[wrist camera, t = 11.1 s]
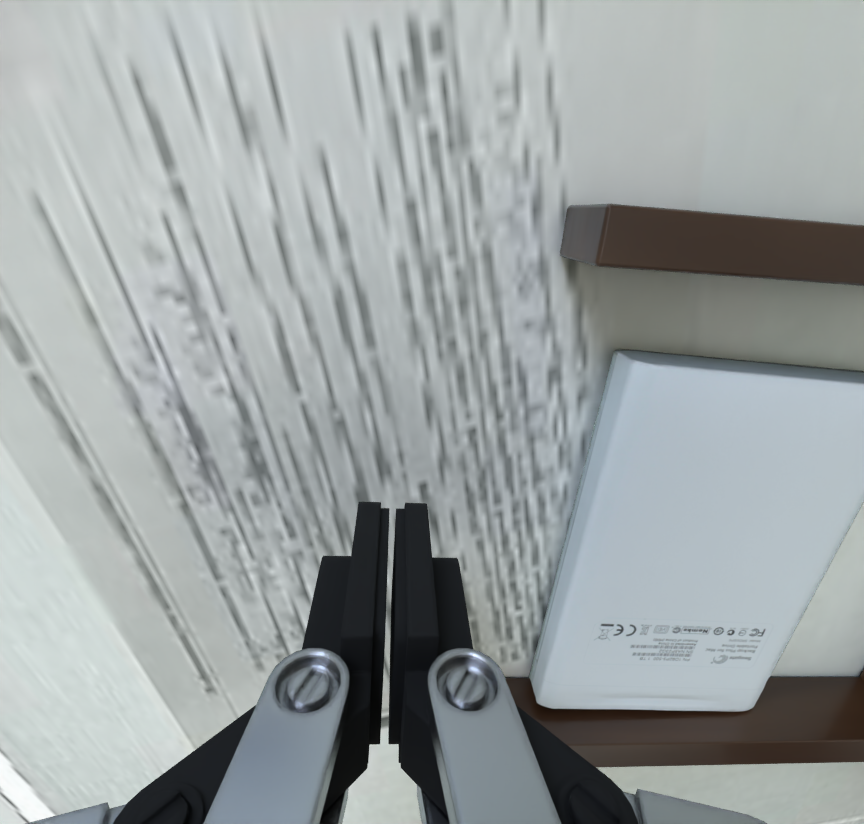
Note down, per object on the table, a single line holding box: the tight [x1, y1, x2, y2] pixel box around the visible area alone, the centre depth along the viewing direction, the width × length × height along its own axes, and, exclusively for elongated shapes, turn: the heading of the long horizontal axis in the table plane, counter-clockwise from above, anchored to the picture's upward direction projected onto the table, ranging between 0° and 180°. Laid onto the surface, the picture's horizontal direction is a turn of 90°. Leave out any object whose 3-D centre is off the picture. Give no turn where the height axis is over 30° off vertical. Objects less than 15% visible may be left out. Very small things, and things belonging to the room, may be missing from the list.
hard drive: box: [529, 349, 864, 712], centre depth 15 cm, size 2×8×12 cm
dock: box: [505, 204, 864, 767], centre depth 15 cm, size 17×16×2 cm
